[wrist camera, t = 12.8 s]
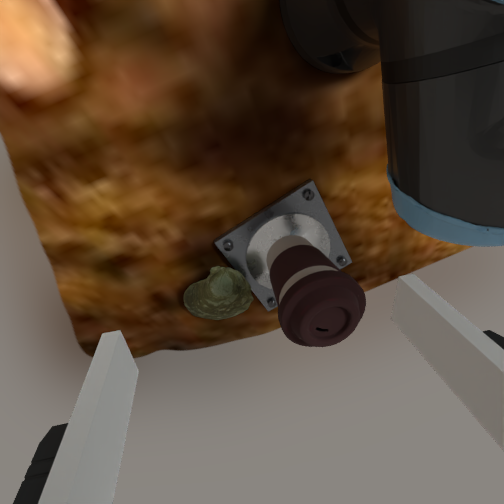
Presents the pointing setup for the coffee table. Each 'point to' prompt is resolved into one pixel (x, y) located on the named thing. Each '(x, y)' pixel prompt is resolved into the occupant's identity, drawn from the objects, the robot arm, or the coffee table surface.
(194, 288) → the seashell
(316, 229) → the duct flange
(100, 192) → the coffee table surface
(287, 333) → the coffee cup
